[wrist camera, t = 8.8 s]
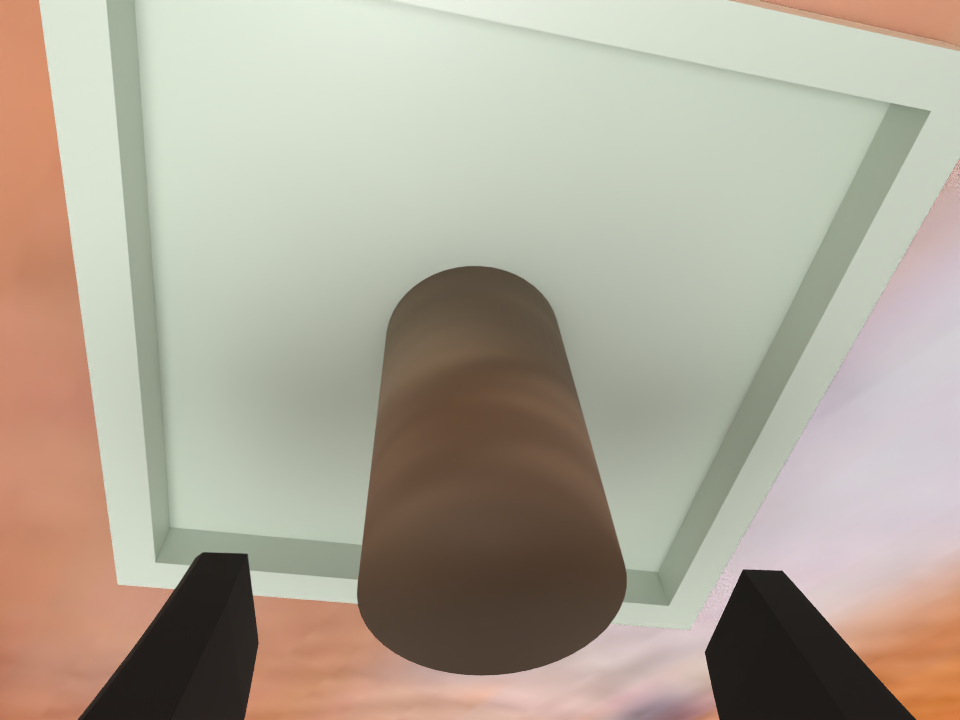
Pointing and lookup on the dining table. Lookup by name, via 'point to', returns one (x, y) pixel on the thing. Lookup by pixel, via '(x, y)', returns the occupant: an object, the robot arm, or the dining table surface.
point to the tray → (474, 247)
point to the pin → (484, 486)
